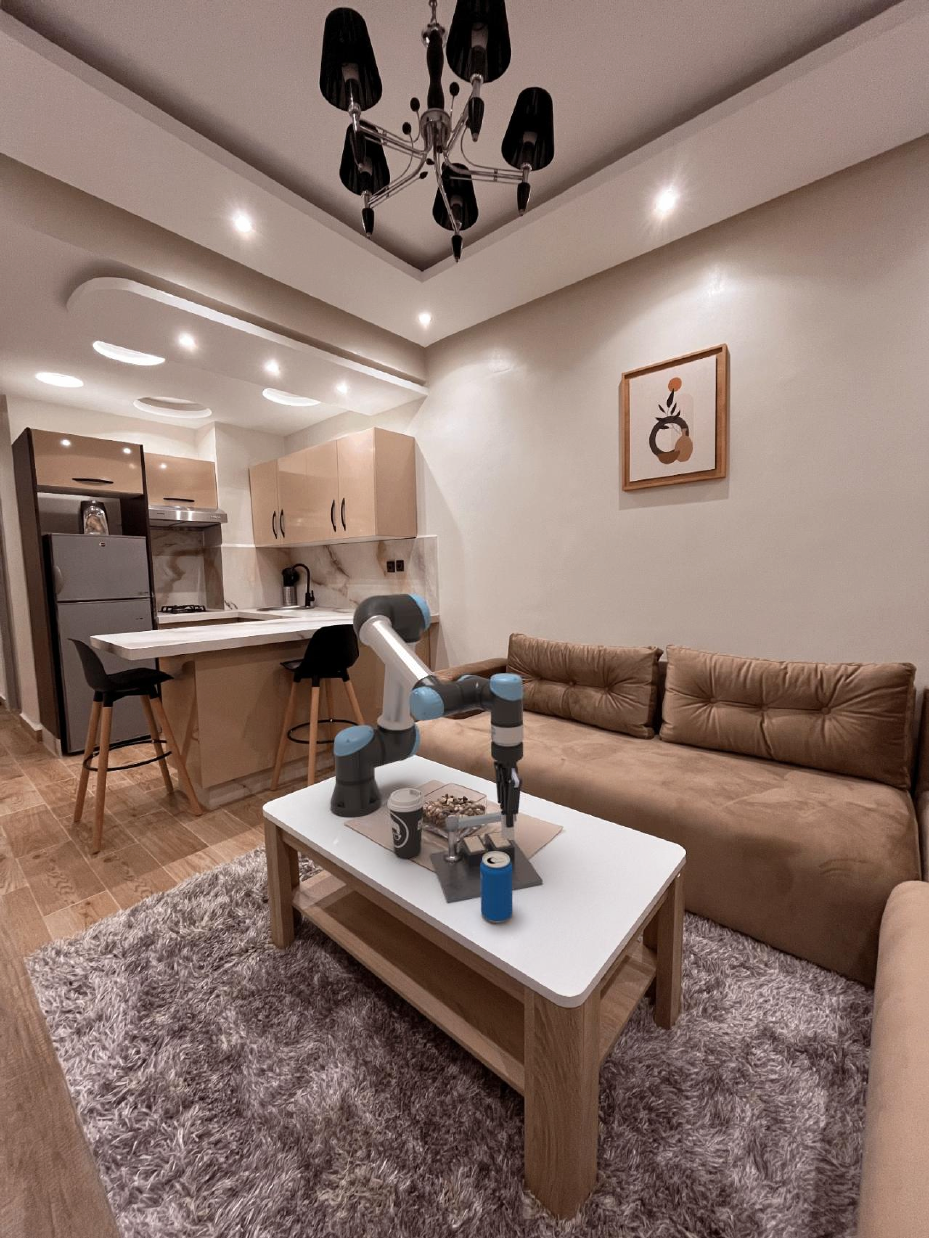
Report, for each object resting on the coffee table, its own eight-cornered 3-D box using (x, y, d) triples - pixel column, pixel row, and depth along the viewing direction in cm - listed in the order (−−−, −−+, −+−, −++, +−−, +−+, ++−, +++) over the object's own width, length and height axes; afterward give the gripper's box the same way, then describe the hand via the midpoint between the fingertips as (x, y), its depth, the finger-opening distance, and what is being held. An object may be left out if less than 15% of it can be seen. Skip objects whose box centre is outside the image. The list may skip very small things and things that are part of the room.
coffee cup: (420, 864, 121) (418, 805, 119) (383, 860, 122) (381, 802, 121) (431, 843, 130) (429, 788, 128) (396, 840, 132) (394, 785, 130)
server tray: (430, 857, 124) (429, 825, 123) (513, 843, 129) (513, 812, 129) (447, 903, 106) (446, 866, 106) (542, 884, 112) (542, 849, 111)
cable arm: (444, 826, 122) (444, 817, 122) (512, 816, 127) (512, 807, 127) (447, 833, 119) (447, 823, 119) (517, 822, 124) (516, 812, 124)
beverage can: (479, 905, 106) (478, 851, 105) (509, 902, 106) (509, 849, 105) (483, 926, 99) (482, 869, 98) (515, 924, 100) (514, 867, 99)
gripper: (483, 734, 121) (484, 826, 124) (501, 752, 109) (502, 855, 111) (512, 730, 123) (512, 822, 126) (533, 748, 111) (533, 849, 113)
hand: (507, 837), depth 118 cm, fingers closed
